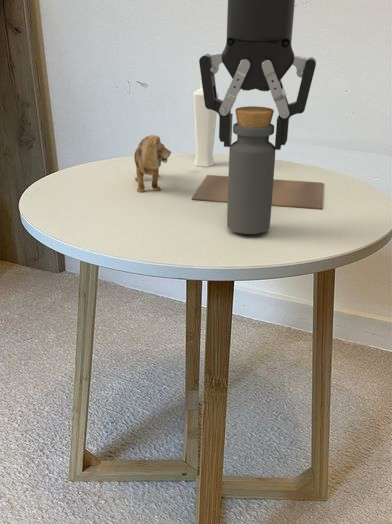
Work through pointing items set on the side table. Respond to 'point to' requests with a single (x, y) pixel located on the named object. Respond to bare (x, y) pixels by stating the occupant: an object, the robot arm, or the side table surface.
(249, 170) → the bottle
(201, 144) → the perfume bottle
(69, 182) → the side table surface
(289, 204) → the copper mat
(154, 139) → the lion figurine
